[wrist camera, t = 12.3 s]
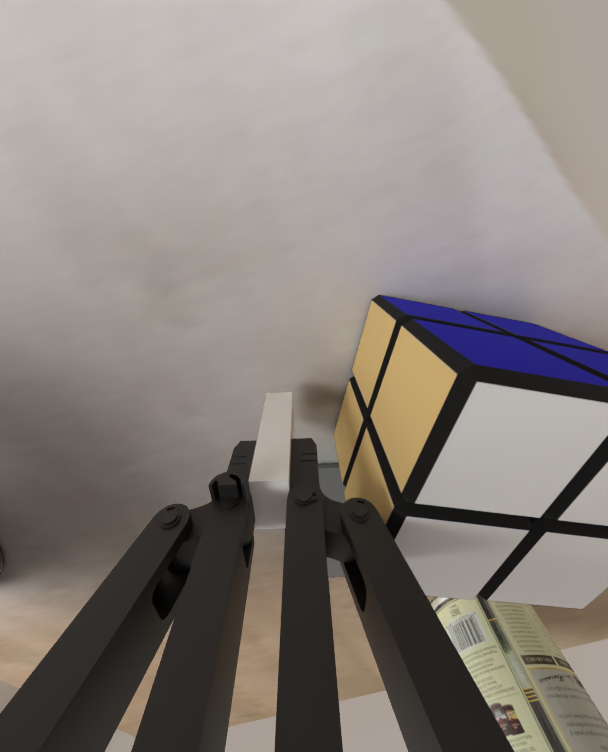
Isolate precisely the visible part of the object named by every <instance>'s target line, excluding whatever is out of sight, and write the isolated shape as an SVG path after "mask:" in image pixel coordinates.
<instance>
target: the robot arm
mask: <svg viewBox="0 0 608 752" xmlns="http://www.w3.org/2000/svg"><path fill="white" fill-rule="evenodd" d="M209 489H210V493H211V498H212V501H211V502H210V503H208V504H206V505H204V506H201V507H198V508H194V509H191V510H189V509H188V508H187V506H185V505H182V504H173V505H170V506H167V507H165V508H164V509H162V510H160V511H159V512H158V513H157V514H156V515H155V516H154V517H153V519H152V520H151V521H150V523H149V524H148V525H147V526H146V528H145V529H144V530H143V532H142V533H141V534H140V535H139V537H138V538H137V539H136V540H135V542H134V543H133V544H132V546H131V547H130V548H129V549H128V551H127V552H126V553H125V555H124V556H123V557H122V558H121V560H120V561H119V562H118V564H117V565H116V566H115V567H114V569H113V570H112V571H111V573H110V574H109V575H108V576H107V578H106V579H105V580H104V581H103V583H102V584H101V585H100V587H99V588H98V589H97V590H96V592H95V593H94V594H93V596H92V597H91V598H90V599H89V601H88V602H87V603H86V605H85V606H84V607H83V608H82V610H81V611H80V612H79V613H78V615H77V616H76V617H75V619H74V620H73V621H72V622H71V624H70V625H69V626H68V628H67V629H66V630H65V631H64V633H63V634H62V635H61V637H60V638H59V639H58V640H57V642H56V643H55V644H54V645H53V647H52V648H51V649H50V651H49V652H48V653H47V654H46V656H45V657H44V658H43V660H42V661H41V662H40V663H39V665H38V666H37V667H36V669H35V670H34V671H33V672H32V674H31V675H30V676H29V678H28V679H27V680H26V681H25V683H24V684H23V685H22V686H21V688H20V689H19V690H18V692H17V693H16V694H15V695H14V697H13V698H12V700H11V701H10V702H9V703H8V704H7V706H6V707H5V708H4V710H3V711H2V712H1V713H0V752H105V750H106V748H107V746H108V744H109V742H110V740H111V738H112V736H113V734H114V732H115V730H116V729H117V727H118V725H119V723H120V721H121V719H122V717H123V715H124V713H125V711H126V709H127V708H128V706H129V704H130V702H131V700H132V698H133V696H134V694H135V692H136V690H137V688H138V686H139V685H140V683H141V681H142V679H143V677H144V675H145V673H146V671H147V669H148V667H149V665H150V664H151V662H152V660H153V658H154V656H155V654H156V652H157V650H158V648H159V646H160V644H161V642H162V641H163V639H164V637H165V635H166V633H167V631H168V629H169V627H170V625H171V623H172V621H173V619H174V621H173V624H172V627H171V631H170V634H169V637H168V640H167V643H166V646H165V649H164V652H163V655H162V658H161V661H160V665H159V668H158V671H157V674H156V677H155V680H154V683H153V686H152V689H151V692H150V695H149V699H148V702H147V705H146V708H145V711H144V714H143V717H142V720H141V723H140V726H139V729H138V733H137V736H136V739H135V742H134V745H133V748H132V751H131V752H225V745H226V738H227V731H228V724H229V717H230V710H231V703H232V696H233V689H234V682H235V675H236V668H237V661H238V654H239V647H240V640H241V633H242V626H243V619H244V612H245V605H246V598H247V591H248V584H249V577H250V570H251V563H252V556H253V549H254V535H253V532H254V525H255V527H256V530H262V529H285V548H284V568H283V589H282V610H281V631H280V651H279V672H278V693H277V714H276V735H275V752H343V750H342V736H341V727H340V726H341V725H340V713H339V701H338V689H337V677H336V665H335V653H334V641H333V629H332V617H331V605H330V593H329V581H328V570H327V558H326V557H328V558H331V559H334V560H338V561H340V564H341V567H342V569H343V572H344V575H345V578H346V581H347V583H348V586H349V589H350V592H351V594H352V597H353V600H354V603H355V605H356V608H357V611H358V614H359V616H360V619H361V622H362V625H363V627H364V630H365V633H366V636H367V639H368V641H369V644H370V647H371V650H372V652H373V655H374V658H375V661H376V663H377V666H378V669H379V672H380V674H381V677H382V680H383V683H384V685H385V688H386V691H387V694H388V697H389V699H390V702H391V705H392V708H393V710H394V713H395V716H396V719H397V721H398V724H399V727H400V730H401V732H402V735H403V738H404V741H405V743H406V746H407V749H408V752H514V750H513V748H512V746H511V745H510V743H509V741H508V739H507V738H506V736H505V734H504V732H503V730H502V729H501V727H500V725H499V723H498V722H497V720H496V718H495V716H494V715H493V713H492V711H491V709H490V708H489V706H488V704H487V702H486V701H485V699H484V697H483V695H482V694H481V692H480V690H479V688H478V687H477V685H476V683H475V681H474V679H473V678H472V676H471V674H470V672H469V671H468V669H467V667H466V665H465V664H464V662H463V660H462V658H461V657H460V655H459V653H458V651H457V650H456V648H455V646H454V644H453V643H452V641H451V639H450V637H449V636H448V634H447V632H446V630H445V628H444V627H443V625H442V623H441V621H440V620H439V618H438V616H437V614H436V613H435V611H434V609H433V607H432V606H431V604H430V602H429V600H428V599H427V597H426V595H425V593H424V592H423V590H422V588H421V586H420V585H419V583H418V581H417V579H416V577H415V576H414V574H413V572H412V570H411V569H410V567H409V565H408V563H407V562H406V560H405V558H404V556H403V555H402V553H401V551H400V549H399V548H398V546H397V544H396V542H395V541H394V539H393V537H392V535H391V534H390V532H389V530H388V528H387V526H386V525H385V523H384V521H383V519H382V518H381V516H380V514H379V512H378V511H377V509H376V507H375V506H374V505H373V504H372V503H371V502H369V501H368V500H366V499H363V498H359V497H357V498H351V499H348V500H346V501H345V502H344V503H341V502H337V501H334V500H331V499H329V498H328V497H326V496H325V495H324V494H323V493H322V491H321V489H320V484H319V472H318V461H317V448H316V444H315V443H314V441H313V440H312V438H304V439H294V417H293V397H292V392H279V393H266V398H265V403H264V408H263V413H262V418H261V423H260V428H259V432H258V437H257V441H240V442H239V443H238V444H237V446H236V447H235V448H234V450H233V453H232V458H231V460H230V465H229V467H228V470H227V472H225V473H222V474H220V475H217V476H216V477H215V478H214V479H213V480H212V481H211V482H210V484H209ZM2 568H3V557H2V553H1V551H0V572H1V570H2Z"/></svg>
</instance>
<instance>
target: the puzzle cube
mask: <svg viewBox="0 0 608 752" xmlns="http://www.w3.org/2000/svg"><path fill="white" fill-rule="evenodd" d="M352 372H353V374H354V377H352V378H351V379H349V382H348V385H347V389H346V392H345V396H344V400H343V403H342V407H341V410H340V414H339V417H338V421H337V425H336V428H335V432H334V439H335V444H336V450H337V455H338V461H339V466H340V472H341V478H342V483H343V485H344V486H345V487H346V488H345V491H344V494H345V500H348V499H351V498H357V497H359V498H363V499H366V500H368V501H369V502H371V503H372V504H373V505H374V506H375V507H376V509H377V511H378V512H379V514H380V516H381V518H382V519H383V521H384V523H385V525H386V526H387V528H388V530H389V532H390V534H391V535H392V537H393V539H394V541H395V542H396V544H397V546H398V548H399V549H400V551H401V553H402V555H403V556H404V558H405V560H406V562H407V563H408V565H409V567H410V569H411V570H412V572H413V574H414V576H415V577H416V579H417V581H418V583H419V585H420V586H421V588H422V590H423V592H424V593H425V595H426V596H433V597H444V598H455V599H466V600H473V599H474V598H475V597H476V595H477V594H478V596H480V597H481V598H483V599H485V600H486V601H496V602H507V603H518V604H529V605H540V606H551V607H562V608H573V609H584V608H585V607H586V606H587V605H588V604H589V603H591V602H592V601H593V600H594V599H595V598H596V597H598V596H599V595H600V594H601V593H602V592H604V591H605V590H606V589H607V588H608V351H605V350H603V349H600V348H597V347H595V346H592V345H589V344H587V343H584V342H581V341H579V340H576V339H573V338H571V337H568V336H565V335H563V334H560V333H557V332H555V331H552V330H549V329H547V328H544V327H541V326H538V325H536V324H532V323H527V322H522V321H516V320H511V319H506V318H500V317H495V316H489V315H484V314H479V313H473V312H468V311H462V312H459V311H457V310H455V309H452V308H446V307H441V306H436V305H430V304H425V303H420V302H414V301H409V300H403V299H398V298H393V297H387V296H382V295H378V296H376V297H375V298H373V299H372V300H371V304H370V307H369V311H368V314H367V318H366V322H365V325H364V329H363V332H362V336H361V339H360V343H359V347H358V350H357V354H356V357H355V361H354V364H353V368H352Z"/></svg>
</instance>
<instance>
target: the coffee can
mask: <svg viewBox="0 0 608 752" xmlns="http://www.w3.org/2000/svg"><path fill="white" fill-rule="evenodd" d="M431 606H432V607H433V609H434V611H435V613H436V614H437V616H438V618H439V620H440V621H441V623H442V625H443V627H444V628H445V630H446V632H447V634H448V636H449V637H450V639H451V641H452V643H453V644H454V646H455V648H456V650H457V651H458V653H459V655H460V657H461V658H462V660H463V662H464V664H465V665H466V667H467V669H468V671H469V672H470V674H471V676H472V678H473V679H474V681H475V683H476V685H477V687H478V688H479V690H480V692H481V694H482V695H483V697H484V699H485V701H486V702H487V704H488V706H489V708H490V709H491V711H492V713H493V715H494V716H495V718H496V720H497V722H498V723H499V725H500V727H501V729H502V730H503V732H504V734H505V736H506V738H507V739H508V741H509V743H510V745H511V746H512V748H513V750H514V752H608V725H607V723H606V721H605V720H604V718H603V717H602V715H601V714H600V712H599V710H598V709H597V708H596V706H595V704H594V703H593V701H592V700H591V698H590V696H589V695H588V693H587V692H586V690H585V688H584V687H583V685H582V684H581V682H580V681H579V679H578V677H577V676H576V674H575V673H574V671H573V670H572V668H571V667H570V665H569V663H568V662H567V661H566V659H565V657H564V656H563V654H562V652H561V651H560V649H559V648H558V646H557V644H556V643H555V641H554V640H553V638H552V637H551V635H550V634H549V632H548V631H547V629H546V627H545V626H544V624H543V623H542V621H541V619H540V618H539V616H538V615H537V613H536V612H535V610H534V608H533V607H532V605H529V604H518V603H507V602H496V601H486V600H485V599H483V598H481V597H480V596H478V594H477V595H476V597H475V598H474V599H473V600H466V599H455V598H444V597H436V598H435V600H434V601H433V602H432V603H431Z"/></svg>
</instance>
